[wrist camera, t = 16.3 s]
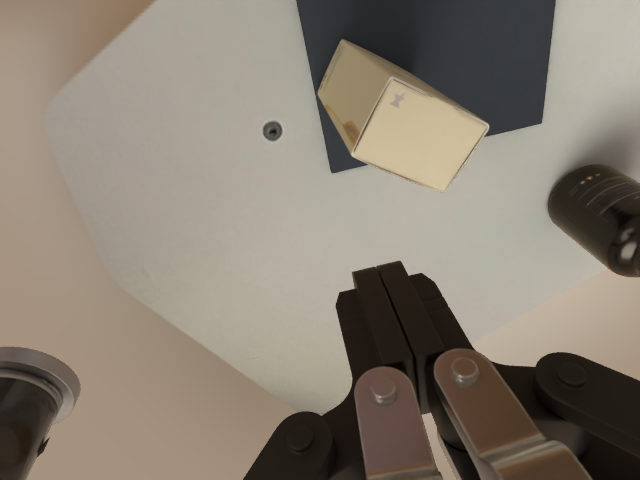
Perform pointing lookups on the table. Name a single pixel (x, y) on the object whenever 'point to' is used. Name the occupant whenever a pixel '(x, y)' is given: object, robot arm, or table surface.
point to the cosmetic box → (397, 119)
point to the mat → (441, 53)
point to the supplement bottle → (601, 215)
